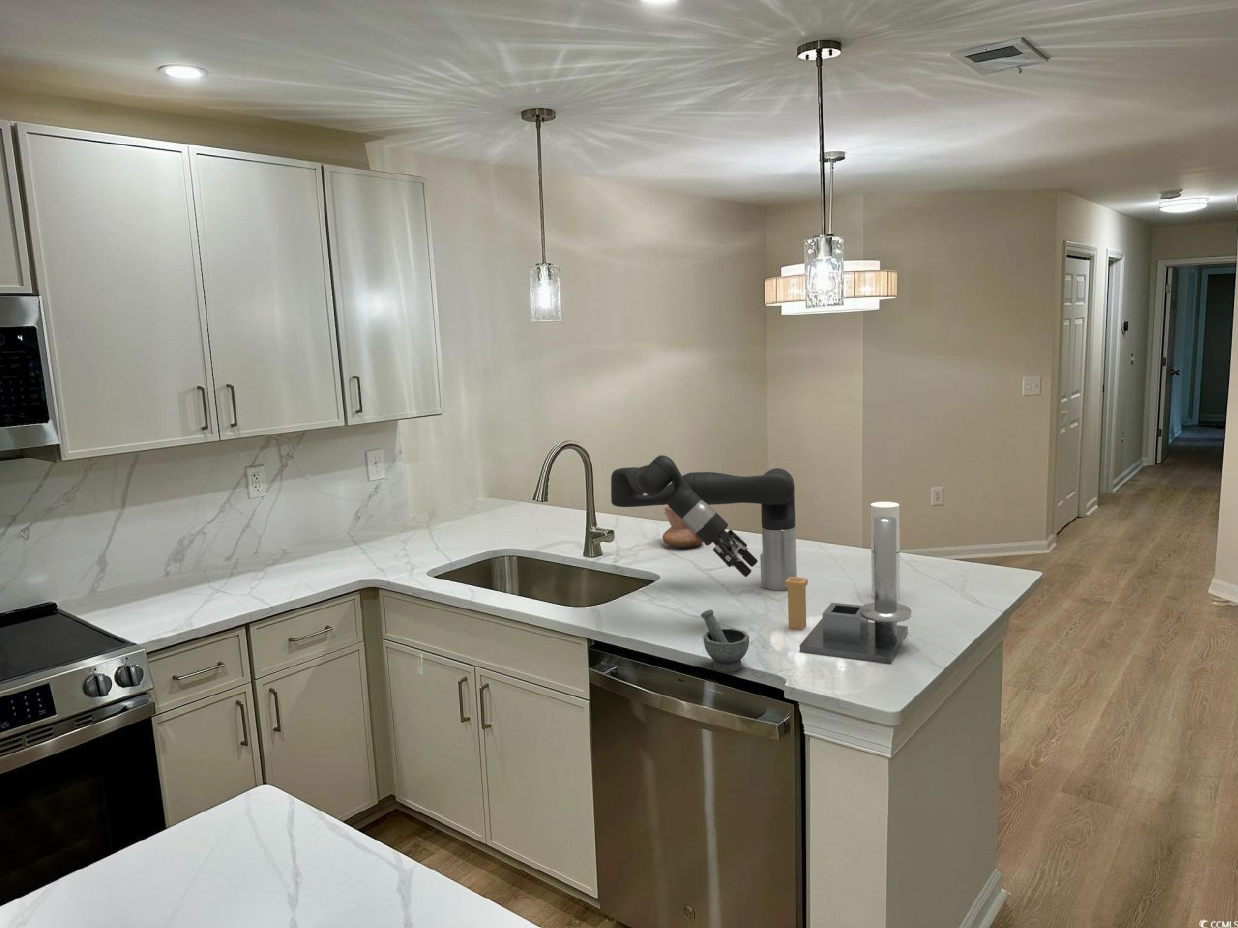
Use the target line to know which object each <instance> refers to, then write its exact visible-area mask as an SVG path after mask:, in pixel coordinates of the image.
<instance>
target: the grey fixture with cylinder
mask: <svg viewBox="0 0 1238 928" xmlns="http://www.w3.org/2000/svg"><path fill="white" fill-rule="evenodd" d="M897 600H898V599H897V563H896V518H894V517H876V518H874V598H873V601H874V602H869V603H866V604H863V605H859V604H847V603H840V602H839V603H838V602H831V603H830V604H829V605H828V606H827V608H825V610H824V611H823V612H822V618H821V619H820V620H819V622H818V623H817V624H816V625H815V626H814V628H813V629H812V630H811V631H810V632H809V633H808V635H807V636H806V637H805V638H804V640H802V642H801V643H800V644H799V653H806V654H813V655H814V654H815V655H821V656H822V655H824V656H830V657H836V658H838V657H839V658H845V659H852V660H860V661H869V662H875V663H881V664H890V665H891V664H892V662H893V661H894V658H895V657H896V655H897V653H898V651H899V650H900V648H901V646H902V644H903V642H904V640H905V638H906V637H907V635H908V633H909V632H908V630H909V629H908V627H909V626H907V625H900V624H898V623H900V622H905V621H908V620H909V619H911V618H912V609H911V608H910V607H909V606H907V605H904V604H902V603H898V602H897ZM870 621H871V622H870ZM872 621H873V622H872Z"/></svg>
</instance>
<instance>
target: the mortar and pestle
mask: <svg viewBox="0 0 1238 928" xmlns="http://www.w3.org/2000/svg"><path fill="white" fill-rule="evenodd" d="M700 616H701V618H702V619H703V620H704V622H705V625H706V628H707V630H708V631H707V632H706V633H705V634H704V635H703V644H704V649H705V650H706V653H707V654H708V656H709V657H710V658H711V659H712V660H713V662H712V666H713V668H714V670H716V671H720V672H734V671H738V670H740V669H741V667H743V665H742V659H743V658H744V657H745V655H746V653H747V652H748V650H749V647H750V646H749V645H750V635H749V634H748V633H747V632H746V631H744V630H740V629H737V628H721V626H720V624H719V622H718V621H717V619H716V617H715V615H714V610H713V609H707V610H705V611H703V612H702V613H700Z"/></svg>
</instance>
